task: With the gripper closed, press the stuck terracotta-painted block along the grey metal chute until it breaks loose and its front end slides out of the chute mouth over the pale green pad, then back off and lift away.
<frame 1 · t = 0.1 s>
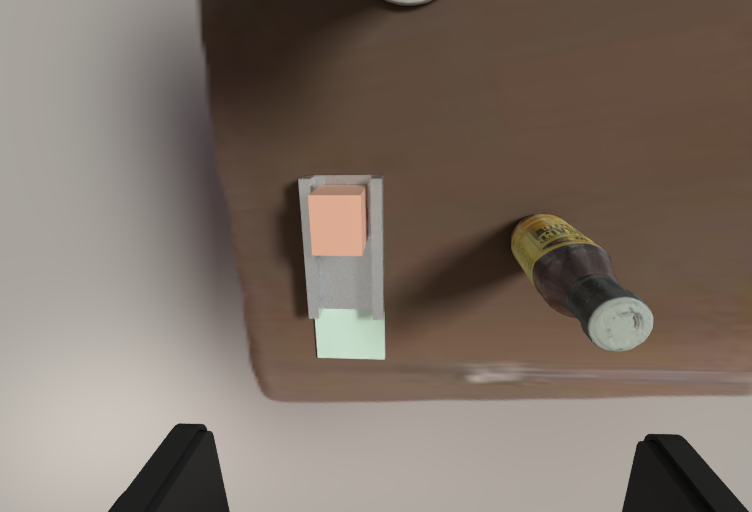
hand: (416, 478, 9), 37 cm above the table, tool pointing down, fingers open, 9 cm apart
block: (340, 218, 41), point 4 cm above the table, slide at 0.0 cm
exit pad: (350, 333, 50), on the table
chute: (346, 245, 46), on the table
sauce bottle: (534, 237, 44), on the table
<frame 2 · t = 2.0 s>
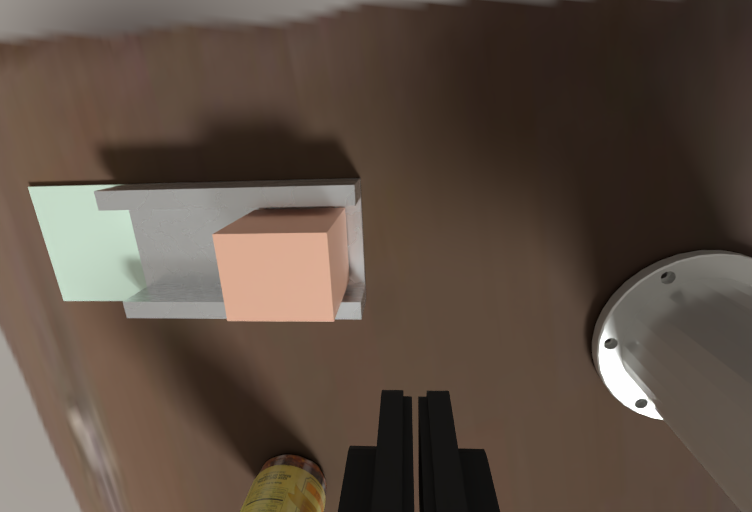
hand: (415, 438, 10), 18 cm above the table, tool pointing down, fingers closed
block: (290, 260, 24), point 4 cm above the table, slide at 0.0 cm
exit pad: (95, 244, 29), on the table
chute: (249, 243, 28), on the table
sauce bottle: (294, 473, 35), on the table
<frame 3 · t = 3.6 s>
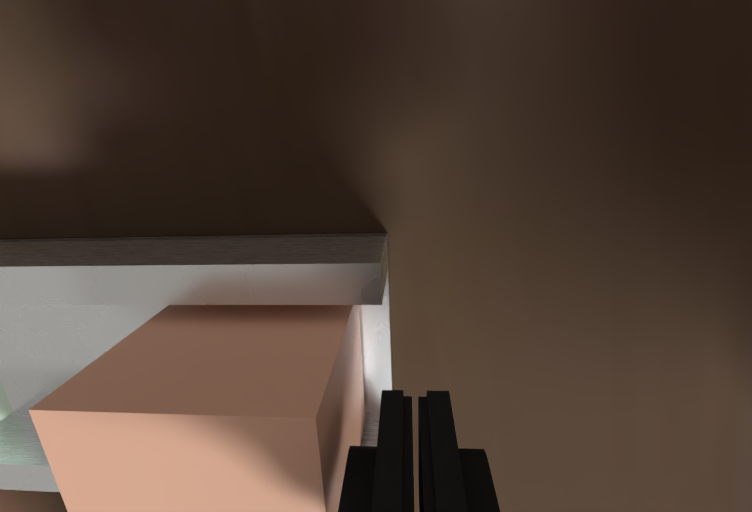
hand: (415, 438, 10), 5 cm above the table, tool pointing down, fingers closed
block: (245, 413, 11), point 4 cm above the table, slide at 0.0 cm, touching gripper
chute: (184, 344, 15), on the table
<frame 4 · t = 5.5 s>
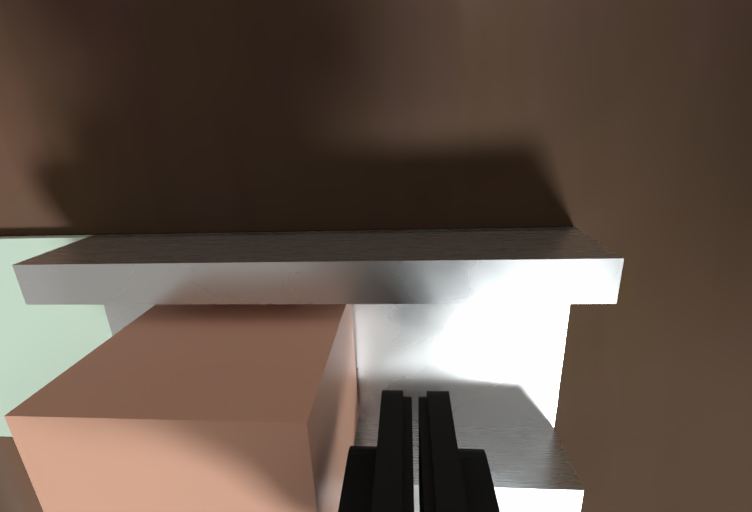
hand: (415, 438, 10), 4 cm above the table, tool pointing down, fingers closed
block: (235, 415, 11), point 4 cm above the table, slide at 6.1 cm, touching gripper
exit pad: (38, 343, 15), on the table
chute: (331, 345, 14), on the table
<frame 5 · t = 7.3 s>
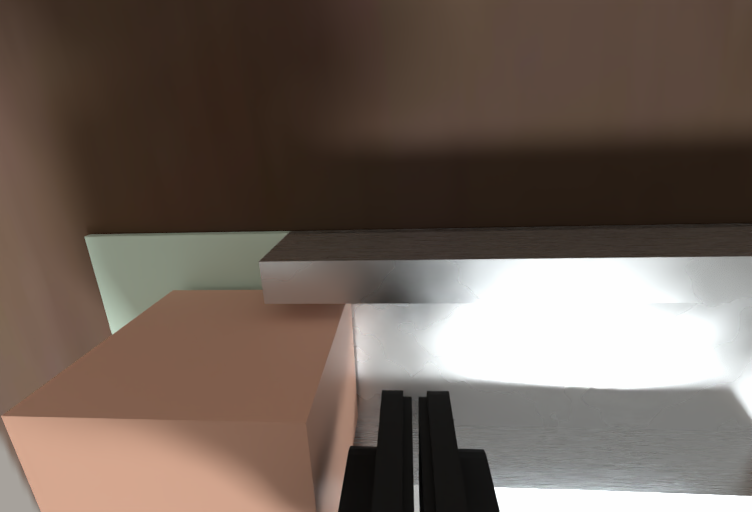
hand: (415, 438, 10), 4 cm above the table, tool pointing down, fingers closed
block: (234, 415, 11), point 4 cm above the table, slide at 13.0 cm, touching gripper
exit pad: (210, 344, 15), on the table
chute: (528, 346, 14), on the table
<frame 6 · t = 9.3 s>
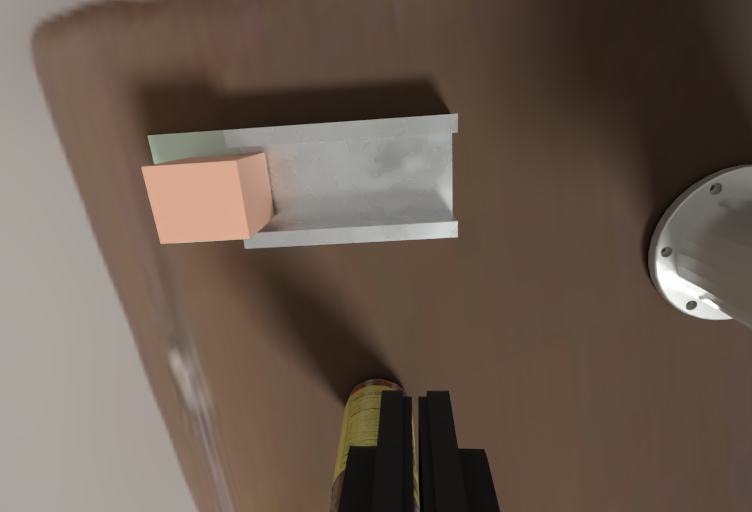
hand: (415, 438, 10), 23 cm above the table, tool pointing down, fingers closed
block: (216, 195, 28), point 4 cm above the table, slide at 13.1 cm
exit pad: (205, 188, 32), on the table
chute: (348, 179, 31), on the table
sauce bottle: (378, 398, 38), on the table
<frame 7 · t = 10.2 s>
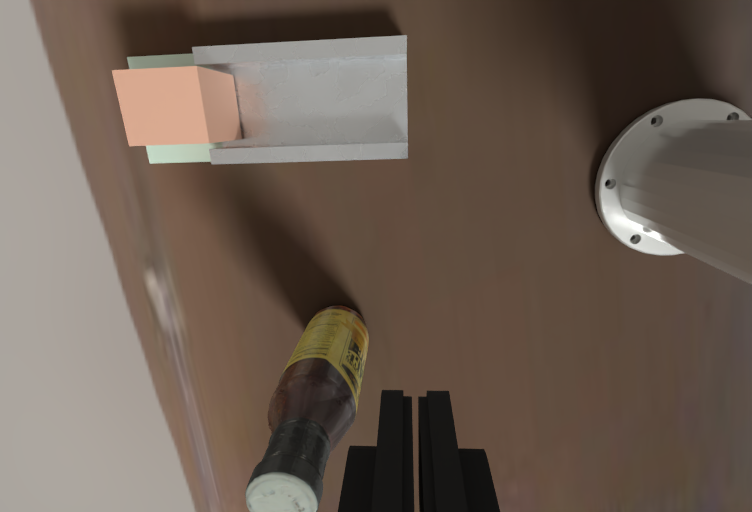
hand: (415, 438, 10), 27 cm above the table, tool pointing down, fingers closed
block: (184, 108, 31), point 4 cm above the table, slide at 13.1 cm
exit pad: (179, 110, 34), on the table
chute: (311, 105, 33), on the table
sauce bottle: (339, 326, 40), on the table
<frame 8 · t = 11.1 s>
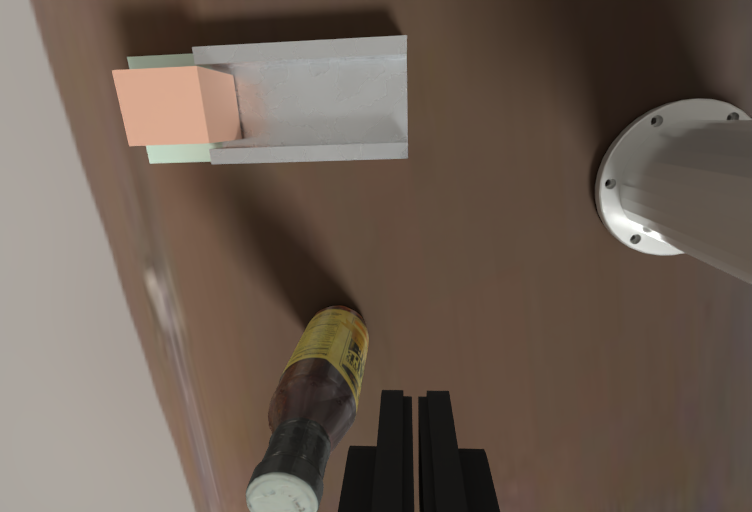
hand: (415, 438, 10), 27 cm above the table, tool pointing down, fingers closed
block: (184, 108, 31), point 4 cm above the table, slide at 13.1 cm
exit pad: (179, 110, 34), on the table
chute: (311, 105, 33), on the table
sauce bottle: (339, 326, 40), on the table
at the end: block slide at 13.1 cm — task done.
